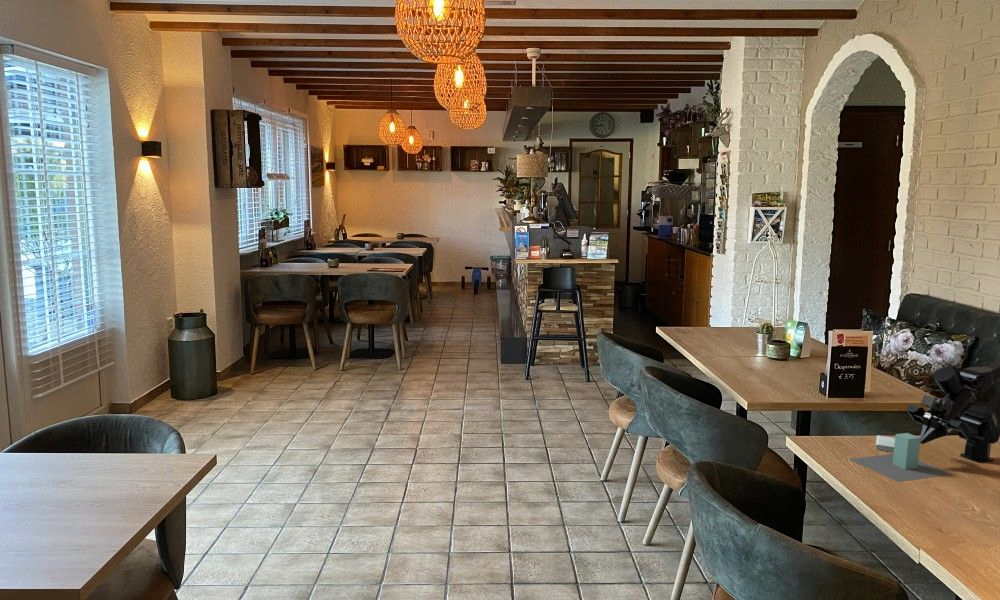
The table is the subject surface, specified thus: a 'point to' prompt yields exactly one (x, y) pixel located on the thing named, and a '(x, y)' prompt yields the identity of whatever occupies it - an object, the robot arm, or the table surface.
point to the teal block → (906, 451)
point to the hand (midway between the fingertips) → (920, 442)
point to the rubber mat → (899, 468)
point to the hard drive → (885, 443)
